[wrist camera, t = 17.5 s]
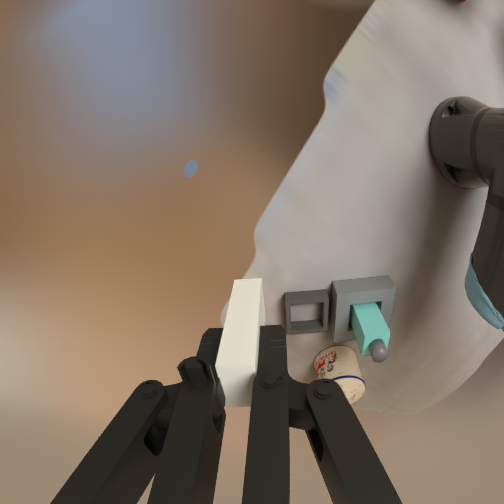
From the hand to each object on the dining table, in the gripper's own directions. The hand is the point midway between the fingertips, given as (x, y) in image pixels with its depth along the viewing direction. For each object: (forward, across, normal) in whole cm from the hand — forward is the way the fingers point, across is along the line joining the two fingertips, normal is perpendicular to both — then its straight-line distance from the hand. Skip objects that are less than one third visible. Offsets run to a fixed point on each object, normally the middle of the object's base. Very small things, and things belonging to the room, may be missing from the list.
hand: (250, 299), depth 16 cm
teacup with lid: (+27, +11, -35) cm, 45 cm away
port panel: (+26, +15, -20) cm, 36 cm away
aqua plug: (+26, +15, -20) cm, 36 cm away
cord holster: (+26, +6, -20) cm, 34 cm away
